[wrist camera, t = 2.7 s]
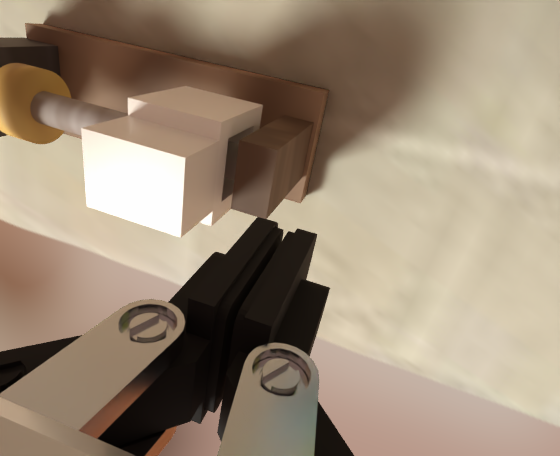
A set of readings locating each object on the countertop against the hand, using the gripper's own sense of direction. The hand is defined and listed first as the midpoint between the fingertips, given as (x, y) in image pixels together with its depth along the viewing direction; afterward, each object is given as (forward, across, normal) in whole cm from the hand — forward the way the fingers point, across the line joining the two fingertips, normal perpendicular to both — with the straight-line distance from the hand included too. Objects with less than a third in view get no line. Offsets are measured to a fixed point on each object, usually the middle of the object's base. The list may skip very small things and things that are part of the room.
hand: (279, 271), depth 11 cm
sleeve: (+9, +6, 0) cm, 11 cm away
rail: (+12, +10, 0) cm, 16 cm away
